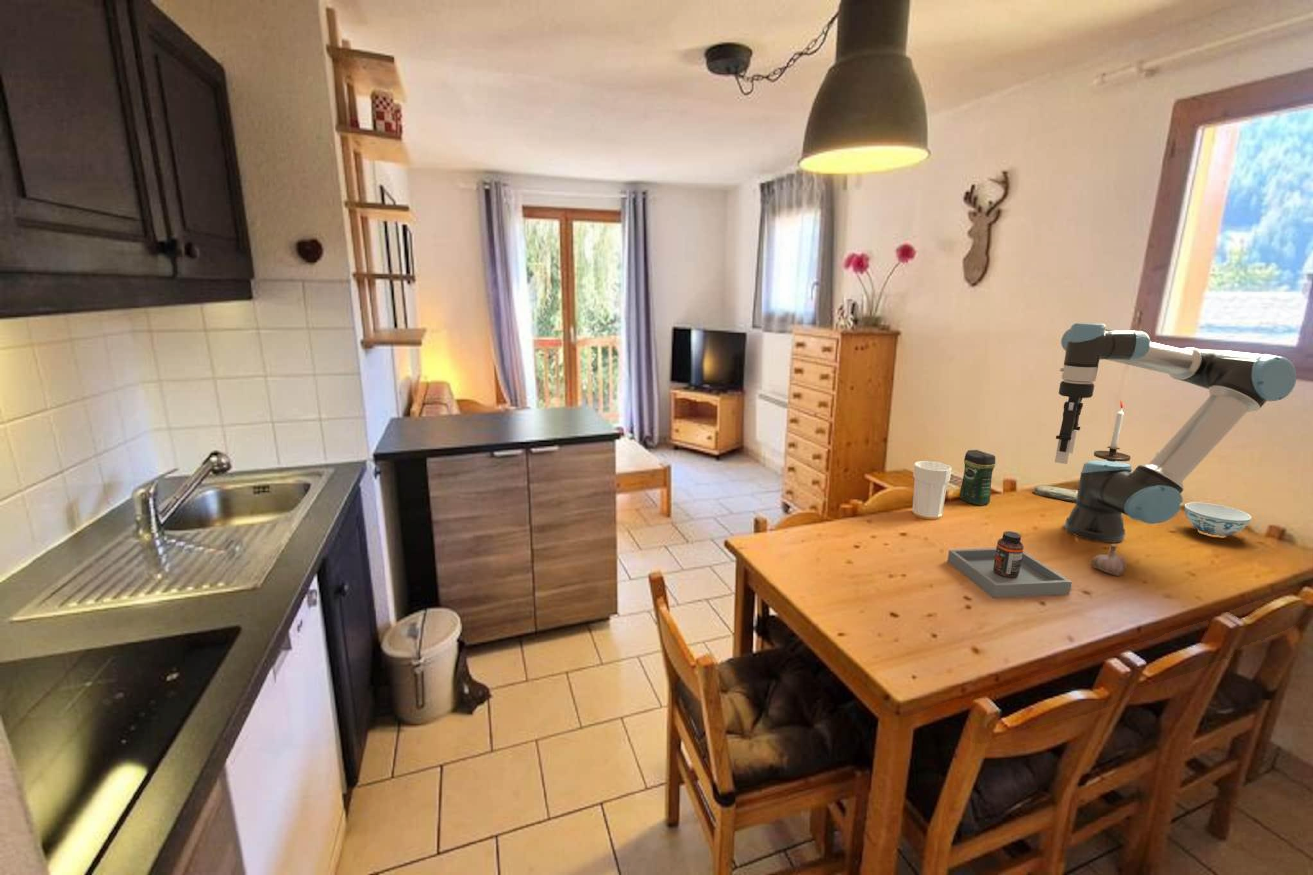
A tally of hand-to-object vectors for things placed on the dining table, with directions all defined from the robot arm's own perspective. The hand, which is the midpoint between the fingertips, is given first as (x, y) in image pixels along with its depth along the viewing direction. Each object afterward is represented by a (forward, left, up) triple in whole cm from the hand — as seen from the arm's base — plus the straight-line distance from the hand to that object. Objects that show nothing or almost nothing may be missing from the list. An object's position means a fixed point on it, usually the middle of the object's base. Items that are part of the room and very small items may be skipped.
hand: (1063, 457), depth 161 cm
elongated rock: (-46, -37, -29) cm, 66 cm away
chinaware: (-61, -8, -29) cm, 68 cm away
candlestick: (-61, -48, -29) cm, 83 cm away
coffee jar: (-5, -42, -29) cm, 51 cm away
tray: (+22, +13, -29) cm, 38 cm away
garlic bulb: (-8, +12, -29) cm, 32 cm away
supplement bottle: (+22, +13, -28) cm, 38 cm away
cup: (+19, -31, -29) cm, 46 cm away
